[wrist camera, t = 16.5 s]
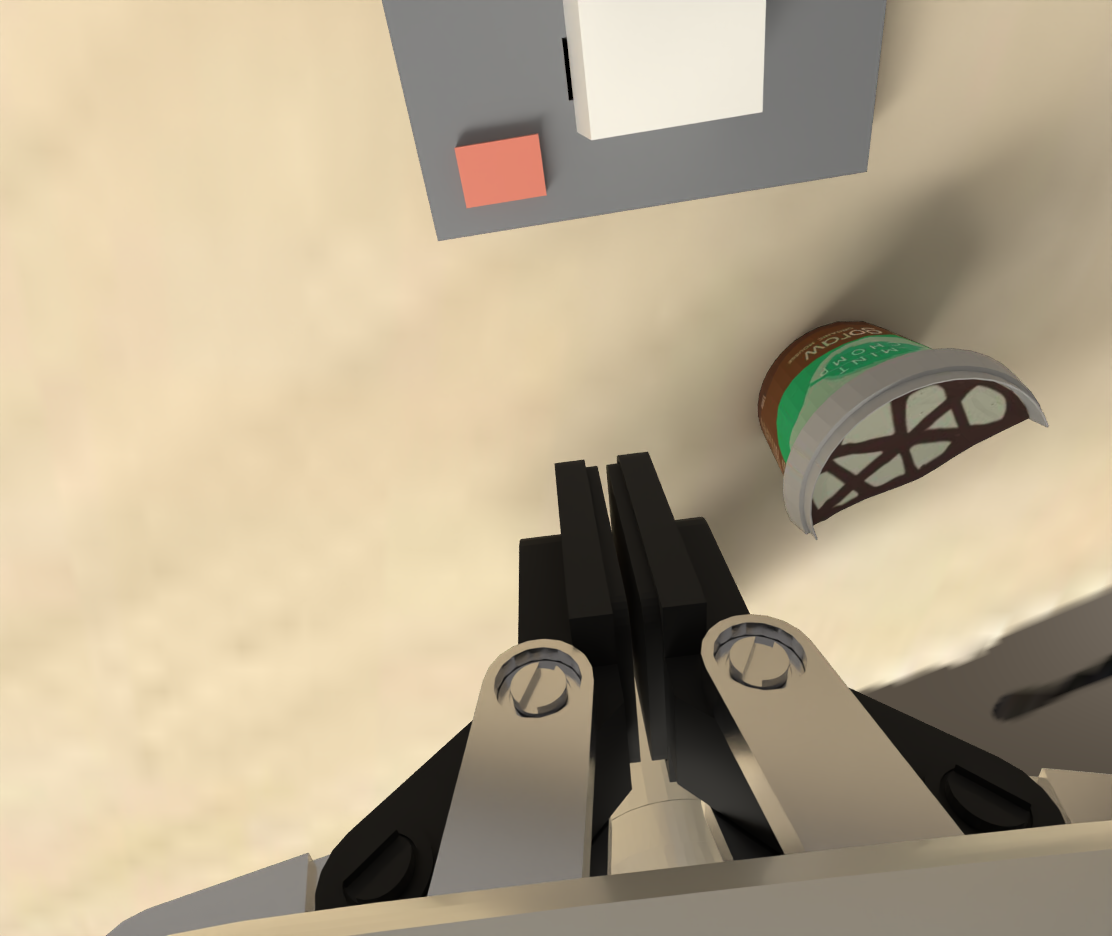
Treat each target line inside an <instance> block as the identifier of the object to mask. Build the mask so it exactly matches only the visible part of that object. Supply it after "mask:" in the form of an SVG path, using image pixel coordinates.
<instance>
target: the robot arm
mask: <svg viewBox="0 0 1112 936" xmlns="http://www.w3.org/2000/svg"><path fill="white" fill-rule="evenodd" d="M606 469H607V482H608V493H609V504H610V516H611V526H610V522H609V517H608V513H607V508H606V504H605V499H604V494H603V490H602V485H601V481H600V476H599V472H598V467H597V466H594V467H586V466H585V461H584V460H578V461H570V462H562V463H555V474H556V485H557V496H558V506H559V517H560V528H561V534H559V535H551V536H543V537H535V538H526V539H520V545H519V622H518V645H516V646H513V647H511V648H510V649H508V650H507V651H505V652H504V653H502V654H501V655H499V656H498V658H497V659H496V660H495V661H494V662H493V663H492V664H491V665H490V667H489V668H488V670H487V673H486V675H485V677H484V679H483V682H482V686H481V690H480V694H479V698H478V702H477V706H476V709H475V713H474V717H473V720H472V721H471V722H470V723H469V724H468V725H467V726H466V727H465V728H463V729H462V730H461V731H460V732H459V733H458V734H457V735H456V736H455V737H454V738H452V739H451V740H450V741H449V742H448V743H447V744H446V745H445V746H444V747H442V748H441V749H440V750H439V751H438V752H437V753H436V754H435V755H434V756H433V757H431V758H430V759H429V760H428V761H427V762H426V763H425V764H424V765H423V766H421V767H420V768H419V769H418V770H417V771H416V772H415V773H414V774H413V775H412V776H410V777H409V778H408V779H407V780H406V781H405V782H404V783H403V784H402V785H400V786H399V787H398V788H397V789H396V790H395V791H394V792H393V793H392V794H391V795H389V796H388V797H387V798H386V799H385V800H384V801H383V802H382V803H381V804H380V805H378V806H377V807H376V808H375V809H374V810H373V811H372V812H371V813H370V814H368V815H367V816H366V817H365V818H364V819H363V820H362V821H361V822H360V823H359V824H357V825H356V826H355V827H354V828H353V829H352V830H351V831H350V832H349V833H348V834H347V835H346V836H345V837H344V838H343V839H342V840H341V842H340V843H339V844H338V845H337V846H336V847H335V848H334V849H333V851H332V852H331V854H330V855H328V856H325V857H322V858H319V859H316V860H312V858H311V856H310V854H309V853H306V854H303V855H300V856H298V857H295V858H292V859H289V860H286V861H283V862H280V863H278V864H275V865H272V866H269V867H266V868H263V869H260V870H258V871H255V872H252V873H249V874H246V875H243V876H240V877H237V878H235V879H232V880H229V881H226V882H223V883H220V884H217V885H215V886H212V887H209V888H206V889H203V890H200V891H197V892H195V893H192V894H189V895H186V896H183V897H180V898H177V899H175V900H172V901H169V902H166V903H163V904H160V905H157V906H154V907H152V908H149V909H146V910H144V911H142V912H140V913H138V914H136V915H135V916H133V917H131V918H129V919H127V920H125V921H123V922H122V923H121V924H119V925H118V926H117V927H116V928H115V929H113V930H112V931H111V932H110V933H109V934H107V935H106V936H1112V775H1111V774H1101V773H1090V772H1079V771H1069V770H1058V769H1047V768H1042V770H1041V773H1040V775H1039V777H1032V776H1028V775H1027V774H1025V773H1024V772H1023V771H1022V770H1020V769H1018V768H1016V767H1015V766H1013V765H1011V764H1009V763H1008V762H1006V761H1004V760H1003V759H1001V758H999V757H997V756H995V755H993V754H991V753H988V752H986V751H984V750H982V749H980V748H977V747H975V746H973V745H971V744H969V743H967V742H965V741H963V740H960V739H958V738H956V737H954V736H952V735H950V734H947V733H945V732H943V731H941V730H939V729H937V728H935V727H932V726H930V725H928V724H925V723H924V722H922V721H919V720H917V719H915V718H913V717H911V716H909V715H906V714H904V713H902V712H900V711H898V710H896V709H893V708H891V707H889V706H887V705H885V704H882V703H881V702H878V701H876V700H874V699H872V698H870V697H868V696H866V695H863V694H861V693H859V692H857V691H855V690H853V689H850V688H848V687H847V685H846V684H845V683H844V682H843V680H842V679H841V678H840V676H839V675H838V674H837V673H836V671H835V670H834V669H833V668H832V666H831V665H830V664H829V663H828V661H827V660H826V659H825V657H824V656H823V655H822V654H821V652H820V651H819V650H818V649H817V647H816V646H815V645H814V644H813V642H812V641H811V640H810V639H809V638H808V637H807V636H806V635H805V634H804V633H803V632H801V631H800V630H799V629H797V628H796V627H794V626H792V625H790V624H789V623H787V622H785V621H782V620H779V619H776V618H773V617H769V616H764V615H754V614H750V613H749V611H748V609H747V607H746V605H745V603H744V600H743V598H742V596H741V594H740V592H739V590H738V588H737V585H736V583H735V581H734V579H733V577H732V575H731V573H730V571H729V568H728V566H727V564H726V562H725V560H724V558H723V556H722V554H721V551H720V549H719V547H718V545H717V543H716V541H715V539H714V536H713V534H712V532H711V530H710V528H709V526H708V524H707V522H706V520H705V519H704V518H703V517H697V518H689V519H680V520H674V517H673V515H672V512H671V509H670V507H669V504H668V502H667V499H666V497H665V494H664V491H663V489H662V486H661V484H660V481H659V479H658V476H657V473H656V471H655V468H654V466H653V463H652V461H651V458H650V455H649V453H648V452H642V453H634V454H626V455H618V456H617V464H610V465H607V466H606ZM611 527H612V531H611Z"/></svg>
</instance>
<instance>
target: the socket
mask: <svg viewBox="0 0 1112 936" xmlns="http://www.w3.org/2000/svg"><path fill="white" fill-rule="evenodd" d="M886 1H887V0H766V18H765V49H764V80H763V111H762V112H760V113H754V114H748V115H742V116H736V117H730V118H724V119H718V120H711V121H705V122H699V123H693V124H687V125H681V126H675V127H669V128H663V129H657V130H651V131H645V132H639V133H633V134H627V135H621V136H614V137H608V138H602V139H596V140H590V139H588V138H587V137H585V136H583V135H581V134H579V133H578V132H577V127H576V118H575V109H574V100H573V99H570V100H569V97H568V88H567V79H566V70H565V62H564V53H563V44H562V43H567V35H566V26H565V17H564V7H563V0H382V3H383V7H384V12H385V16H386V20H387V25H388V29H389V33H390V37H391V42H392V46H393V50H394V54H395V59H396V63H397V67H398V72H399V76H400V80H401V84H402V89H403V93H404V97H405V102H406V106H407V110H408V114H409V119H410V123H411V127H412V131H413V136H414V140H415V144H416V149H417V153H418V157H419V161H420V166H421V170H422V174H423V179H424V183H425V187H426V191H427V196H428V200H429V204H430V208H431V213H432V217H433V221H434V226H435V230H436V234H437V238H438V241H442V240H448V239H454V238H460V237H467V236H473V235H479V234H485V233H491V232H497V231H504V230H510V229H516V228H522V227H528V226H535V225H541V224H547V223H553V222H559V221H566V220H572V219H578V218H584V217H590V216H596V215H603V214H609V213H615V212H621V211H627V210H634V209H640V208H646V207H652V206H658V205H665V204H671V203H677V202H683V201H689V200H696V199H702V198H708V197H714V196H720V195H726V194H733V193H739V192H745V191H751V190H757V189H764V188H770V187H776V186H782V185H788V184H795V183H801V182H807V181H813V180H819V179H825V178H832V177H838V176H844V175H850V174H856V173H863V172H867V166H868V157H869V149H870V140H871V131H872V123H873V114H874V105H875V97H876V88H877V79H878V71H879V62H880V53H881V45H882V36H883V27H884V19H885V10H886Z"/></svg>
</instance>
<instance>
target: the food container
mask: <svg viewBox="0 0 1112 936" xmlns="http://www.w3.org/2000/svg"><path fill="white" fill-rule="evenodd" d="M758 417H759V422H760V426H761V429H762V431H763V433H764V436H765V438H766V440H767V442H768V444H769V446H770V448H771V450H772V453H773V455H774V457H775V459H776V461H777V463H778V465H779V467H780V469H781V471H782V474H783V476H784V478H783V497H784V502H785V507H786V511H787V513H788V516H789V518H790V520H791V522H793V523H794V524H795V525H796V526H797V527H798V528H799V529H800V530H802V531H803V532H804V533H805V534H808V533H811V534H812V535H813V537H814V538H815V539H816V540H817V536H816V534H815V531H814V528H813V525H815V524H817V523H819V522H821V521H824V520H826V519H828V518H829V517H831V516H832V515H834V514H836V513H837V512H839V511H841V510H843V509H845V508H847V507H850V506H852V505H854V504H856V503H858V502H860V501H862V500H864V499H867V498H869V497H872V496H875V495H878V494H880V493H883V492H886V491H888V490H891V489H894V488H897V487H899V486H902V485H904V484H907V483H909V482H912V481H914V480H917V479H919V478H921V477H923V476H924V475H926V474H928V473H929V472H931V471H933V470H935V469H936V468H938V467H939V466H941V465H942V464H944V463H946V462H947V461H949V460H950V459H952V458H953V457H955V456H956V455H958V454H960V453H961V452H963V451H965V450H967V449H968V448H970V447H972V446H973V445H975V444H977V443H979V442H981V441H983V440H985V439H987V438H989V437H991V436H993V435H995V434H997V433H999V432H1001V431H1003V430H1005V429H1008V428H1010V427H1012V426H1014V425H1016V424H1018V423H1020V422H1022V421H1024V420H1026V419H1030V420H1032V421H1034V422H1037V423H1039V424H1041V425H1043V426H1045V427H1049V426H1048V423H1047V421H1046V418H1045V415H1044V413H1043V412H1042V410H1041V407H1040V405H1039V403H1038V401H1037V400H1036V398H1035V397H1034V395H1033V394H1032V392H1031V391H1030V390H1029V389H1028V388H1027V387H1026V386H1025V385H1024V384H1023V383H1022V382H1021V381H1020V380H1019V379H1018V378H1017V377H1016V376H1015V375H1014V374H1013V373H1012V372H1011V371H1010V370H1009V369H1008V368H1006V367H1005V366H1004V365H1003V364H1001V363H1000V362H998V361H996V360H994V359H992V358H991V357H989V356H986V355H983V354H980V353H977V352H973V351H969V350H961V349H952V348H947V349H931V348H929V347H926V346H924V345H922V344H919V343H917V342H914V341H912V340H910V339H907V338H905V337H903V336H900V335H898V334H896V333H893V332H891V331H888V330H886V329H883V328H881V327H878V326H875V325H872V324H869V323H866V322H863V321H851V322H835V323H832V324H828V325H825V326H822V327H818V328H816V329H814V330H812V331H810V332H808V333H806V334H804V335H803V336H801V337H800V338H798V339H797V340H796V341H794V342H793V343H792V344H791V345H790V346H788V347H787V348H786V349H785V350H784V351H783V352H782V353H781V354H780V356H779V357H778V358H777V359H776V360H775V362H774V363H773V365H772V366H771V368H770V369H769V371H768V373H767V375H766V377H765V379H764V381H763V384H762V387H761V390H760V393H759V400H758Z"/></svg>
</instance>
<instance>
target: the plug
mask: <svg viewBox="0 0 1112 936" xmlns="http://www.w3.org/2000/svg"><path fill="white" fill-rule="evenodd" d="M563 7H564V17H565V26H566V35H567V44H568V53H569V63H570V72H571V81H572V90H573V100H574V109H575V118H576V127H577V132H578V133H579V134H581V135H583V136H585V137H587V138H588V139H590V140H596V139H602V138H608V137H614V136H621V135H627V134H633V133H639V132H645V131H651V130H657V129H663V128H669V127H675V126H681V125H687V124H693V123H699V122H705V121H711V120H718V119H724V118H730V117H736V116H742V115H748V114H754V113H760V112H762V111H763V80H764V49H765V18H766V0H563Z"/></svg>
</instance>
